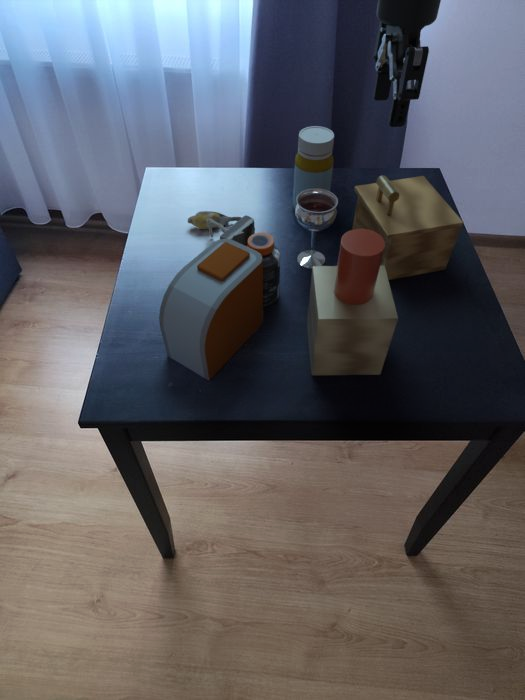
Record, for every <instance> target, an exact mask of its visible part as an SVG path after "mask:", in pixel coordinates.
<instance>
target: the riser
mask: <svg viewBox="0 0 525 700" xmlns="http://www.w3.org/2000/svg"><path fill="white" fill-rule="evenodd" d="M336 269H337V265H322V266H313V267H312V268H311V275H310V276H311V278H310V287H309V295H308V296H309V297H308V307H307V318H306V332H307V342H308V354H309V365H310V375H311V376H380V375H381V374H382V371H383V367H384V365H385V361H386V358H387V355H388V351H389V349H390V346H391V342H392V339H393V336H394V332H395V330H396V328H397V327H396V326H397V323H398V321H399V316H398V312H397V309H396V304H395V300H394V296H393V292H392V289H391V285H390V280H388V277H387V273H386V269H385V266H384V265H382V266H380V269H379V273H378V277H377V281H376V285H375V289H374V293H373V296H372V298H371V299H370V300H369V301H368V302H366V303H364V304H360V305H352V304H347V303H344V302H342V301H341V300H339V299H338V298H337V297H336V295H335V293H334V282H335V276H336Z"/></svg>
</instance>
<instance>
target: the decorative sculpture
mask: <svg viewBox="0 0 525 700" xmlns="http://www.w3.org/2000/svg"><path fill="white" fill-rule="evenodd" d="M230 222H235V223H233V224H232V225H231V226H230V227H228V228H226V227H225V226H227V225H228V224H229V223H230ZM187 223H188V224H191V225H192V226H194V227H196V228H197V229H199V230H208V231H209V232H208V235H209V236H210V237H211V238H213V237H214V236H213V233H214V231H213V229H216V228H219V230H220V231H221V232H222V233H221V235H220V236H219V240H220V239H231V240H233V241H236V242H238V243H240V244H242V245H244V246H247V245H248V238H249V237H250V236H251V235H253V234H255V233H256V228H255V227H256V226H255V220H254V218H253V217H251V216H249V215H244V216H242V217H241V216H228V215H225V214H223V213H221V212H217V211H211V210H210V211H209V210H203V211H198V212H196V213H195V215H192V216H189V217H188V218H187Z"/></svg>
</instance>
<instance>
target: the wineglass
mask: <svg viewBox="0 0 525 700" xmlns="http://www.w3.org/2000/svg"><path fill="white" fill-rule="evenodd" d="M296 202H297V205H296V208H295V210H294V216H295V219H296V220H297V222H298V225H300V226H301V227H302V228H304V229H305V230H307V231H309V232H311V234H310V235H311V237H310V238H311V239H310V249H308V250H303V251H301V252H300V253H298V255H297V263H298V264H299V265H300V266H301V267H304V268H306V269H312V267H313V266H324V264H325V262H326V257H325V255H324V254H323V253H321V252H320V251H317V250H315V249H314V248H315V242H316V236H317V232H322V231H324V230H326V229H328V228H330V226H332V225H333V224H334V222H335V220H336V217H337V215H338V210H337V206H338V204H339V199H338V196H337V195H335V194H334V193H333V192H331V191H330V192H329V191H327V190H323V189H308V190H305V191H302V192H301V193H300V194H298V196H297V198H296Z"/></svg>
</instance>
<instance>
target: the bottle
mask: <svg viewBox="0 0 525 700" xmlns="http://www.w3.org/2000/svg"><path fill="white" fill-rule="evenodd" d="M297 141H298V142H297V152H296V155H295V159H294V171H293V172H294V173H293V192H292V208H293V210H294V211H295V208H296V205H297V202H296V198H297V196H298V194H300V193H301V192H302V191H305V190H308V189H323V190H327V191H329V192H331V187H332V180H333V179H332V178H333V172H334V156H333V150H334V141H335V133H334V132H333V130H331V129H330V128H328V127H325V126H319V125H310V126H306V127H304V128H302V129H301V130H299V133H298V140H297Z"/></svg>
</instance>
